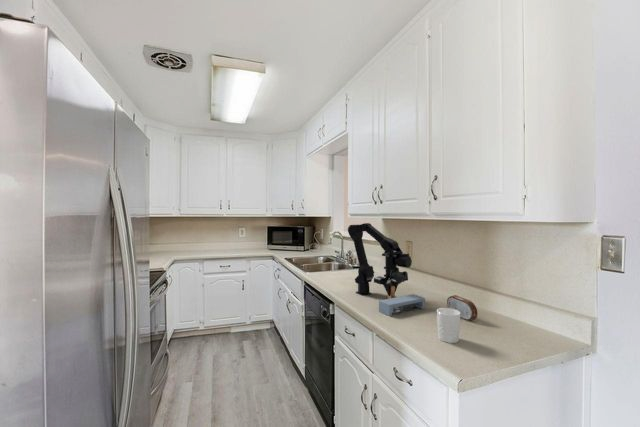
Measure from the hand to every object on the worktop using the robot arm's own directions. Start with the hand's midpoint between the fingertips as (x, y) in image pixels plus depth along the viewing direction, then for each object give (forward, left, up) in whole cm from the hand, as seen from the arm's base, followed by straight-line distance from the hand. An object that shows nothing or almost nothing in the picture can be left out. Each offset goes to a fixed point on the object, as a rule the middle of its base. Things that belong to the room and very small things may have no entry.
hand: (391, 295), depth 150 cm
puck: (+13, -10, -3) cm, 17 cm away
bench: (+13, -6, -3) cm, 15 cm away
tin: (+32, +10, -3) cm, 34 cm away
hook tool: (+7, -2, -2) cm, 7 cm away
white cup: (+44, -14, -3) cm, 47 cm away
